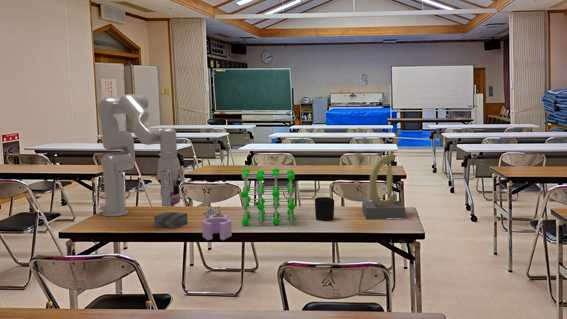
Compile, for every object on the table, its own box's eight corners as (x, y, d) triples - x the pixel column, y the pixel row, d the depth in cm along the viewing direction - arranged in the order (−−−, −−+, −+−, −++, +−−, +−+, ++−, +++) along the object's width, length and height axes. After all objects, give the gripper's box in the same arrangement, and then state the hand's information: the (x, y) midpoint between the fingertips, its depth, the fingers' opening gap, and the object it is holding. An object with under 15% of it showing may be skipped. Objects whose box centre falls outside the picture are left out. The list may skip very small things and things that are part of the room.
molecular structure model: (244, 215, 307) (243, 167, 304) (294, 214, 307) (293, 166, 304) (241, 226, 283) (240, 174, 280) (295, 225, 283) (294, 173, 280)
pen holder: (337, 218, 298) (337, 197, 297) (330, 221, 289) (330, 201, 288) (319, 216, 302) (319, 196, 300) (311, 220, 293) (311, 199, 292)
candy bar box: (170, 202, 292) (168, 167, 290) (180, 202, 291) (178, 168, 289) (161, 206, 281) (159, 171, 279) (171, 206, 280) (169, 171, 278)
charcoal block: (154, 227, 284) (154, 216, 283) (167, 222, 294) (166, 211, 294) (175, 228, 280) (175, 217, 280) (187, 223, 290) (187, 213, 290)
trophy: (405, 219, 293) (405, 157, 290) (366, 219, 294) (366, 157, 290) (399, 211, 312) (399, 152, 308) (362, 211, 312) (362, 153, 309)
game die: (217, 230, 292) (229, 213, 292) (210, 227, 284) (222, 209, 285) (204, 219, 296) (216, 202, 296) (196, 216, 288) (209, 199, 288)
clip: (205, 229, 278) (205, 214, 277) (233, 229, 278) (233, 214, 277) (200, 240, 258) (200, 224, 257) (230, 240, 258) (230, 224, 257)
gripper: (148, 156, 283) (150, 194, 285) (181, 156, 277) (182, 196, 279) (157, 154, 290) (158, 192, 292) (189, 154, 284) (190, 193, 286)
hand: (170, 193), depth 285 cm, fingers closed on candy bar box, 5 cm apart
